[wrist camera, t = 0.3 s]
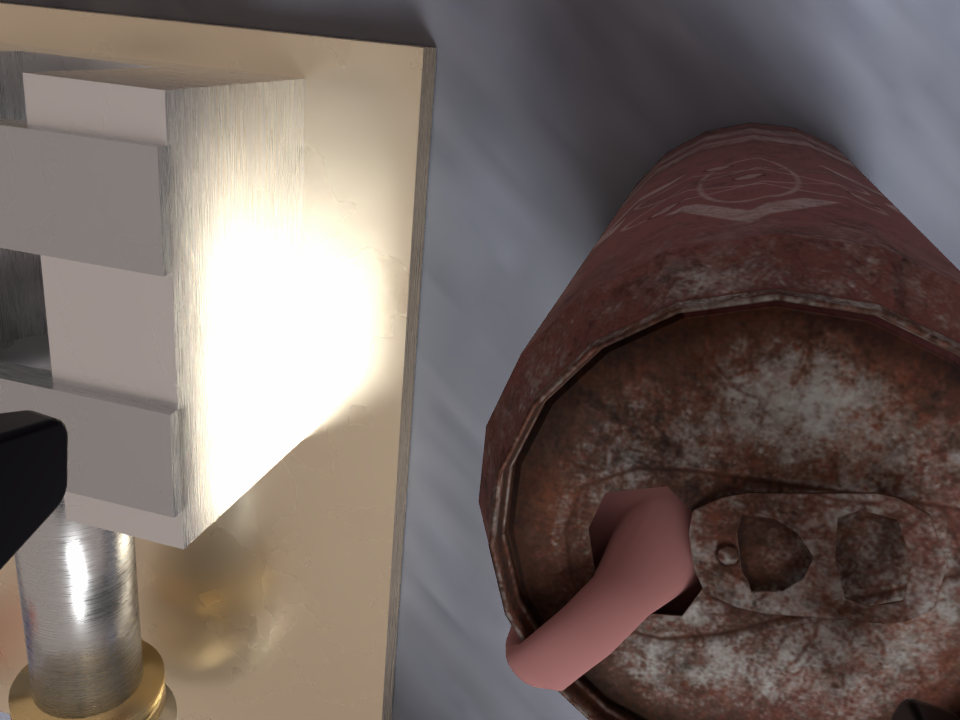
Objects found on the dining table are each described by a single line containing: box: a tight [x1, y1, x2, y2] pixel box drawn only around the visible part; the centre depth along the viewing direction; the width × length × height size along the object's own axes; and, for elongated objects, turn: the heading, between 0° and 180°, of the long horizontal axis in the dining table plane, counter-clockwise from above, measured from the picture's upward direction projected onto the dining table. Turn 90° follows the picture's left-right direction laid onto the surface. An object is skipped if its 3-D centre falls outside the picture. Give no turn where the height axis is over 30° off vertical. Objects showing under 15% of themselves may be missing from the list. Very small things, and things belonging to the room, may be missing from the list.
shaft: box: [0, 334, 177, 720], centre depth 24 cm, size 14×5×5 cm, turn 175°
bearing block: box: [0, 2, 437, 720], centre depth 24 cm, size 25×16×7 cm, turn 175°
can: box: [479, 123, 960, 720], centre depth 15 cm, size 6×6×14 cm
